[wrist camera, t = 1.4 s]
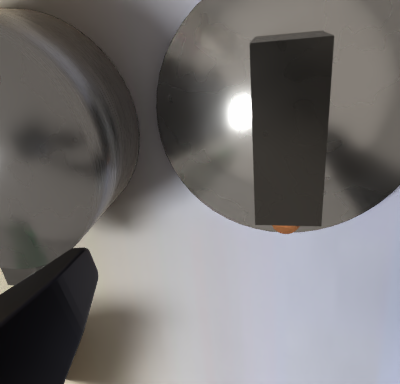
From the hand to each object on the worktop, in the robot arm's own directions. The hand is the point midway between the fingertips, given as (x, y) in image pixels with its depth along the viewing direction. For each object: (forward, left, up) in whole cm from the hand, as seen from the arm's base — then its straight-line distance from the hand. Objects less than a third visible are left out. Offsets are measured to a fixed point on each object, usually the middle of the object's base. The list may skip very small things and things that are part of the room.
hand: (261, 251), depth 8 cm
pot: (+14, 0, -12) cm, 19 cm away
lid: (-1, 0, -13) cm, 13 cm away
